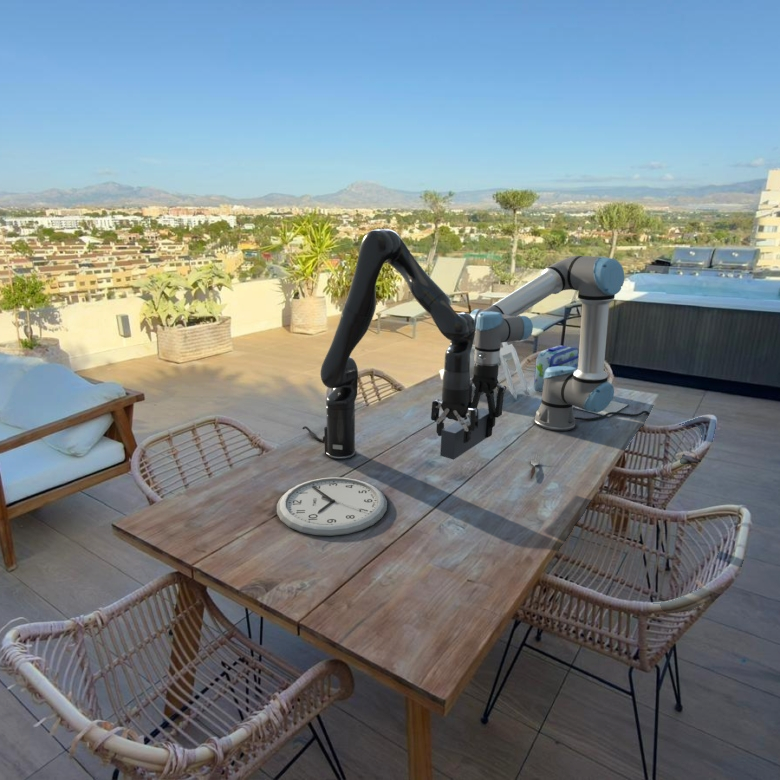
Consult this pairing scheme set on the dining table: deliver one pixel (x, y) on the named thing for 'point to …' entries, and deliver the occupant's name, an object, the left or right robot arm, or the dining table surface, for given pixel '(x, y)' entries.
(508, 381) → the white plastic object
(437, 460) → the dining table surface
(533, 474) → the fork
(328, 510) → the wall clock
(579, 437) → the dining table surface
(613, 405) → the invitation card
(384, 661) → the dining table surface
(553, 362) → the lunch box
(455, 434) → the bar
